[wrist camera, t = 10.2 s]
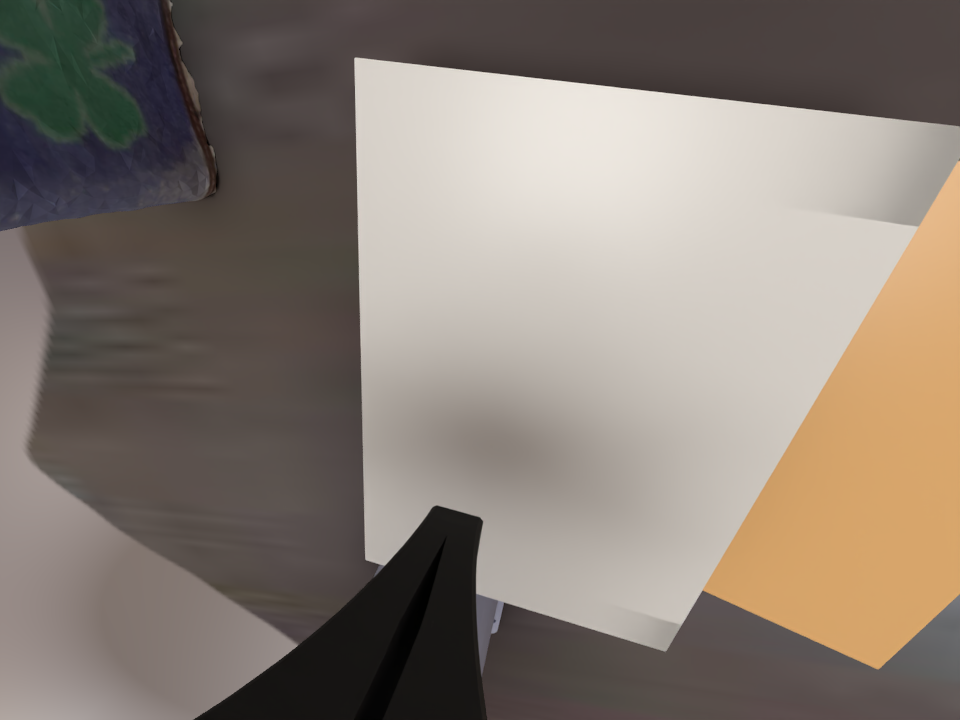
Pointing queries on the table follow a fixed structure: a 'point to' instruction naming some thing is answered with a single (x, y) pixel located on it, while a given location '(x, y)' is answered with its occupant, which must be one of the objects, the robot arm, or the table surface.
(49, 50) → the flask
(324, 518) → the table surface
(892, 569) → the door
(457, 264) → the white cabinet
